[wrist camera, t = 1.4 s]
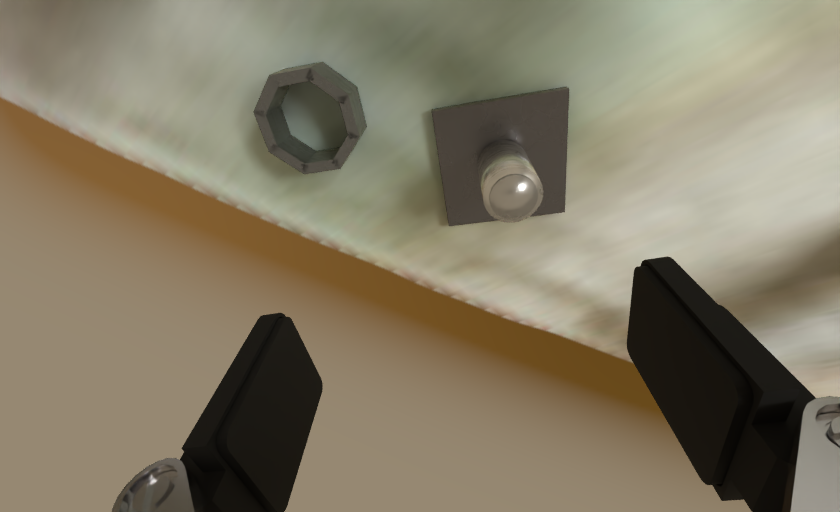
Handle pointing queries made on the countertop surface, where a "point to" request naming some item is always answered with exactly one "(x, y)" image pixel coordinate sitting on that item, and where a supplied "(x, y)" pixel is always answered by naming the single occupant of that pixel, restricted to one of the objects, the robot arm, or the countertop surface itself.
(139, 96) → the countertop surface
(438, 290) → the countertop surface
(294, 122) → the countertop surface
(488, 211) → the grey peg base
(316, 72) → the ring
